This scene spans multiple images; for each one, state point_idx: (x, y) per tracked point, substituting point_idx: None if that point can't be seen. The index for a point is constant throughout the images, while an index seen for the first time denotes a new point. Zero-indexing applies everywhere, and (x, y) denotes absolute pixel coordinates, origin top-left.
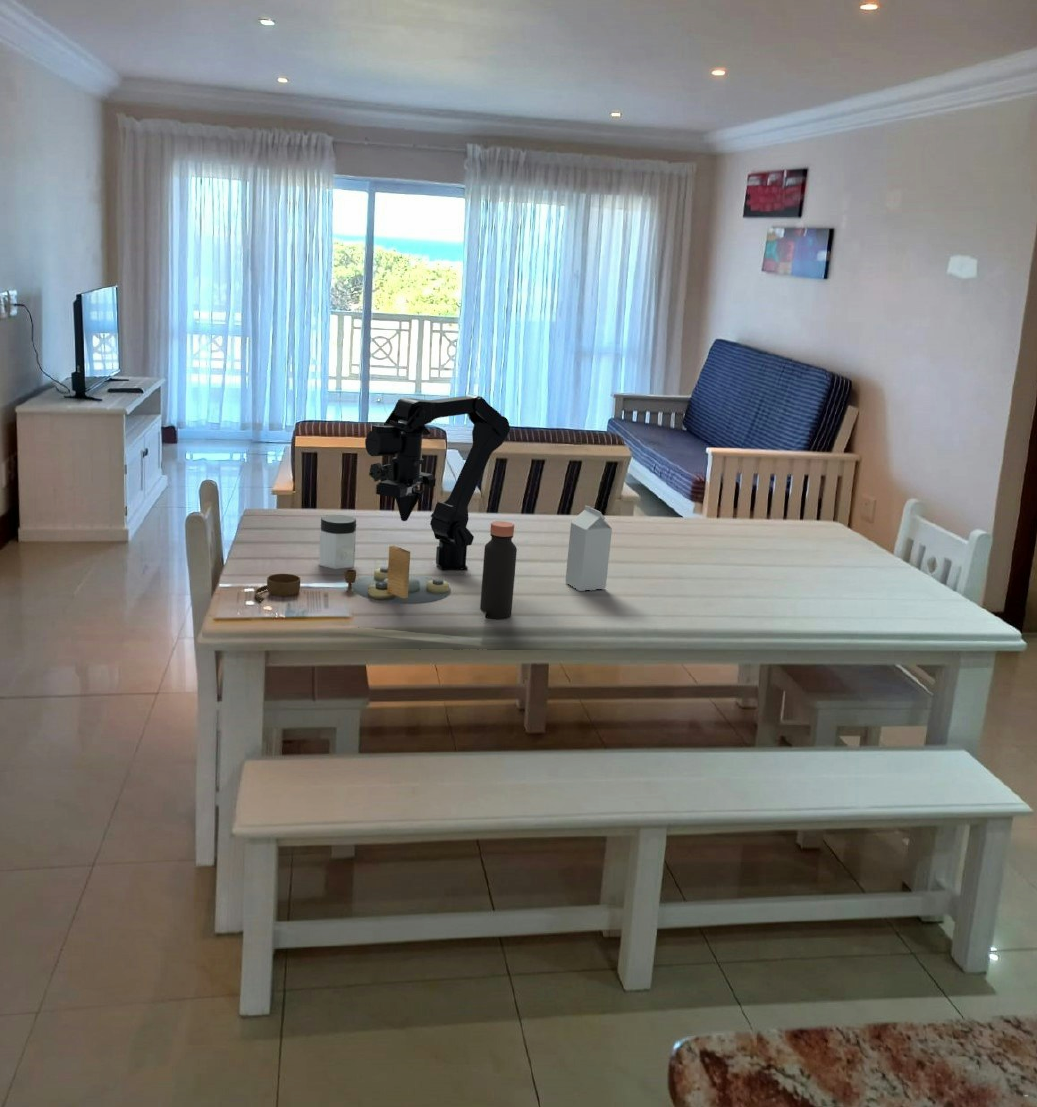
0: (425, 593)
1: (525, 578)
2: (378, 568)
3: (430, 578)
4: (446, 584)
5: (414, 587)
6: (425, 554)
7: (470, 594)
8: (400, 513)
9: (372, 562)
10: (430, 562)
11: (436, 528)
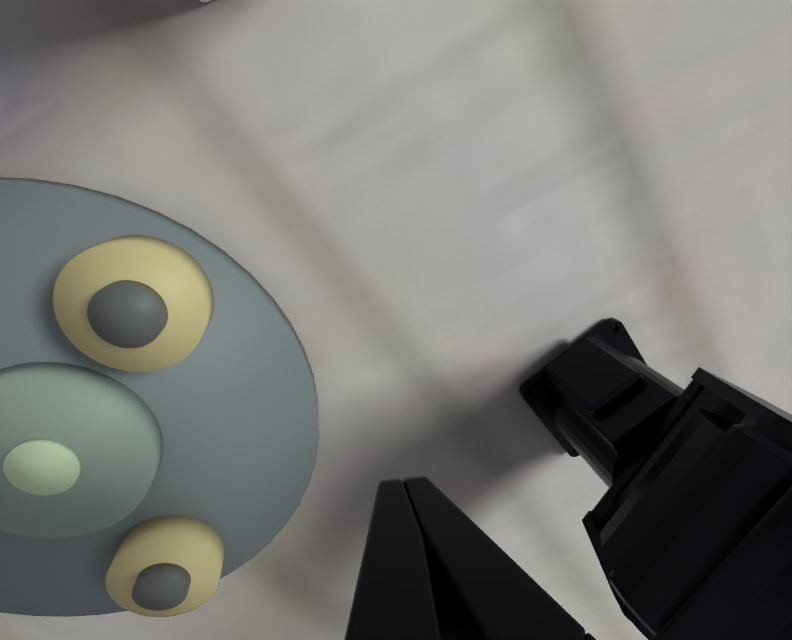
0: (87, 546)
1: (561, 603)
2: (150, 248)
3: (309, 456)
4: (178, 607)
5: (40, 533)
6: (728, 209)
7: (286, 591)
8: (364, 569)
9: (472, 22)
10: (610, 291)
11: (677, 477)
